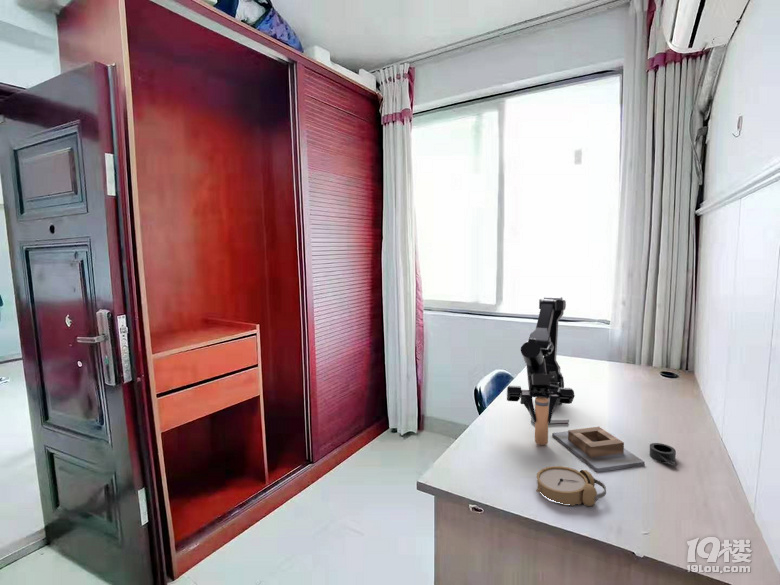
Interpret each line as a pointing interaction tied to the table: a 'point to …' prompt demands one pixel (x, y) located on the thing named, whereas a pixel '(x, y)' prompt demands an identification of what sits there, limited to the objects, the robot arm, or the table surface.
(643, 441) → the table surface
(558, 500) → the alarm clock
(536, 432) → the terracotta pin
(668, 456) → the black hollow winged cylinder
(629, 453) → the block
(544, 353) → the robot arm
